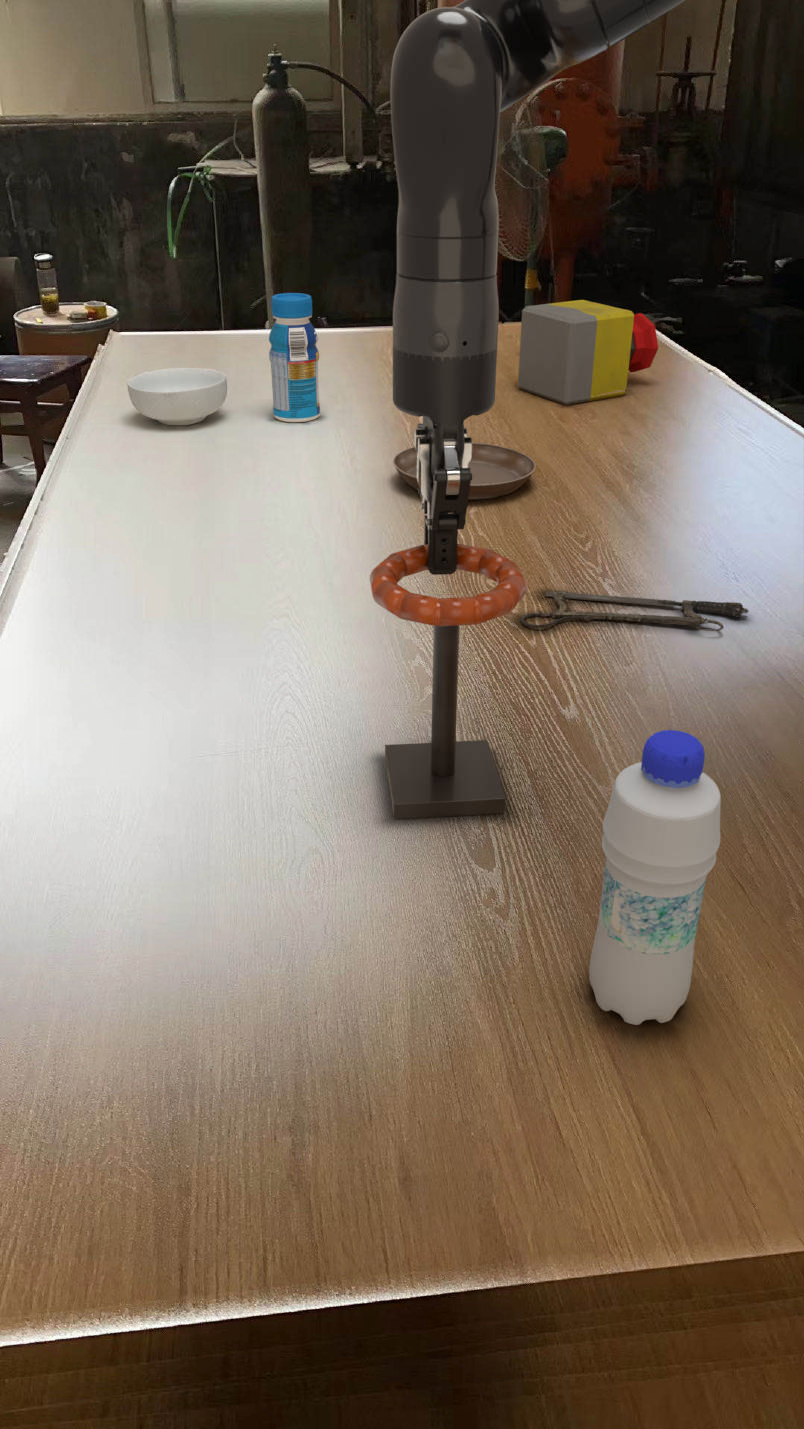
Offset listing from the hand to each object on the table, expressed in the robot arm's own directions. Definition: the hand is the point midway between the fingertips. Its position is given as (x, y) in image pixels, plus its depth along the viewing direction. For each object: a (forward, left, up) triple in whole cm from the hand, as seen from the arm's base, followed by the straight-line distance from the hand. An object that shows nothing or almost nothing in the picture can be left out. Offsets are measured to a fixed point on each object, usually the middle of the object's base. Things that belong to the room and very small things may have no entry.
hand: (439, 565), depth 87 cm
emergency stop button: (-45, -126, -18) cm, 135 cm away
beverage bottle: (+11, -111, -18) cm, 113 cm away
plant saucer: (-13, -73, -18) cm, 77 cm away
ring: (0, +5, +1) cm, 5 cm away
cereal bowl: (+31, -111, -18) cm, 117 cm away
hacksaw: (-25, -25, -18) cm, 40 cm away
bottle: (-9, +31, -18) cm, 37 cm away
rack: (0, +5, -18) cm, 18 cm away
